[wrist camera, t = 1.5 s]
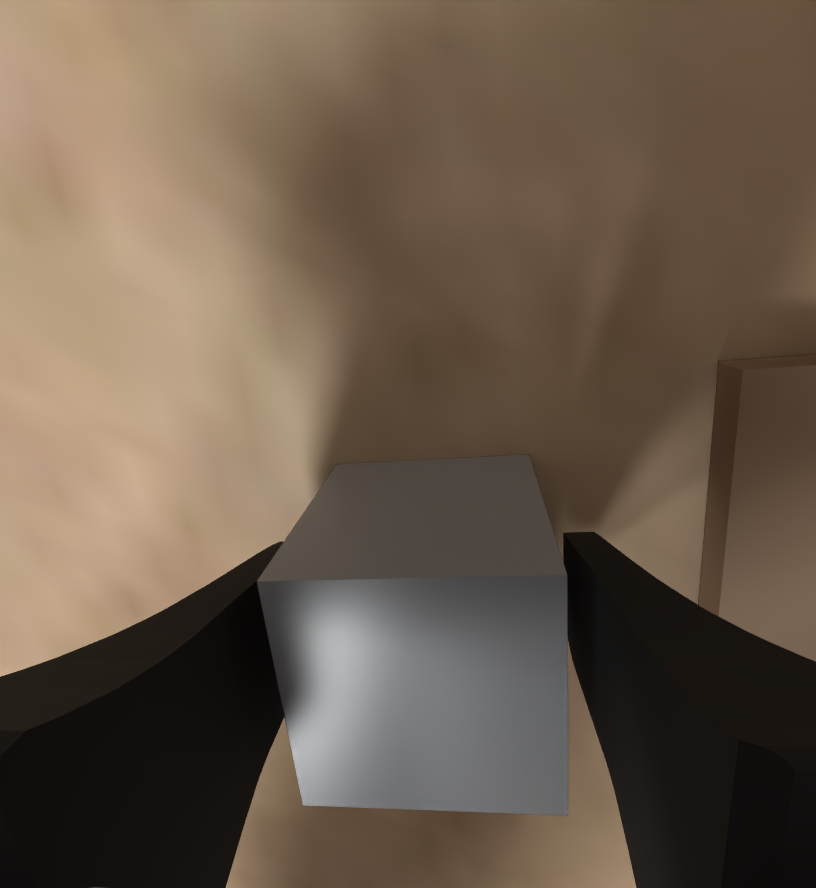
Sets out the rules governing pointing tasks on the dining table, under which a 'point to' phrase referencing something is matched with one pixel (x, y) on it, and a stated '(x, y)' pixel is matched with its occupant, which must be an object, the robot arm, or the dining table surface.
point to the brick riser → (763, 501)
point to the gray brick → (424, 639)
